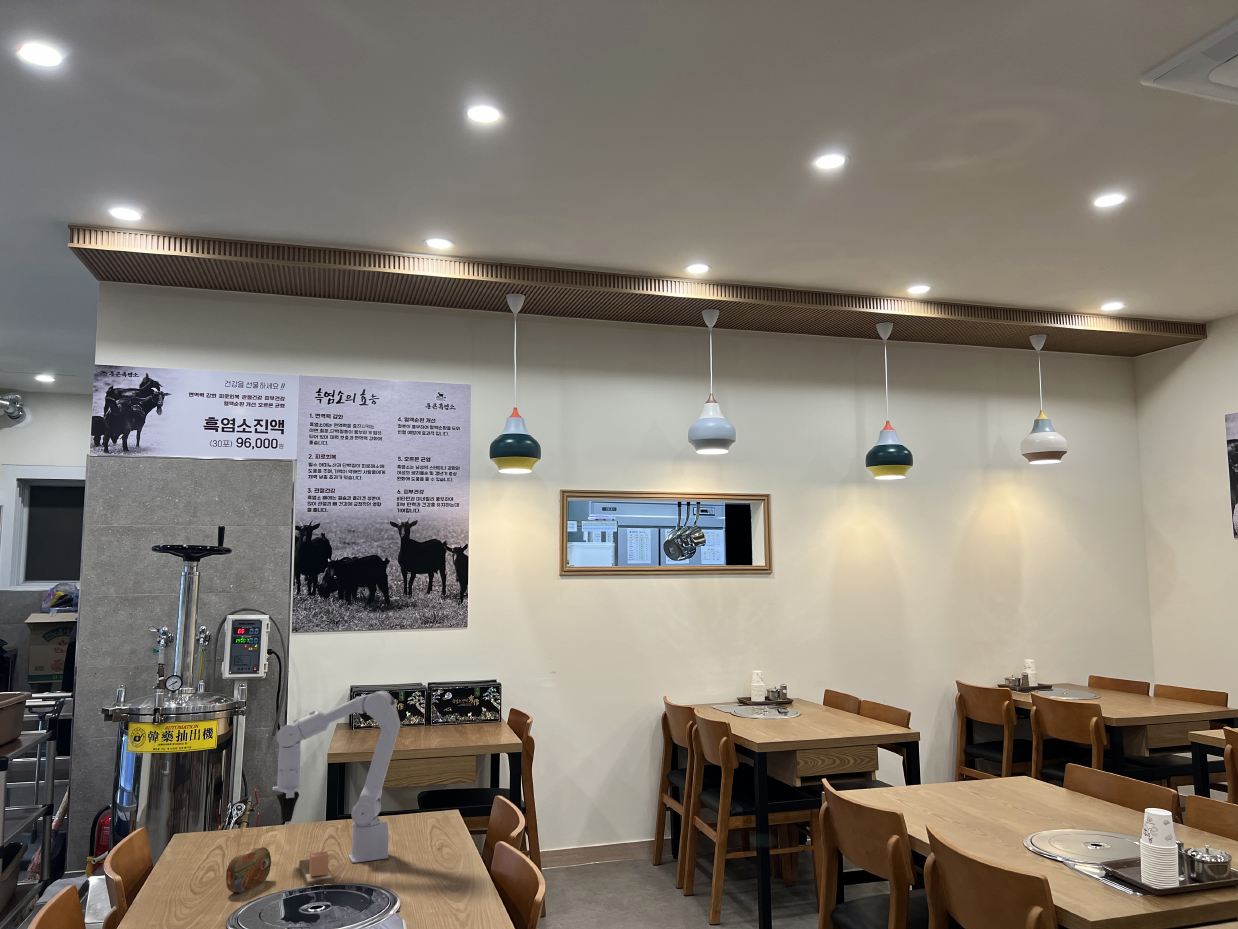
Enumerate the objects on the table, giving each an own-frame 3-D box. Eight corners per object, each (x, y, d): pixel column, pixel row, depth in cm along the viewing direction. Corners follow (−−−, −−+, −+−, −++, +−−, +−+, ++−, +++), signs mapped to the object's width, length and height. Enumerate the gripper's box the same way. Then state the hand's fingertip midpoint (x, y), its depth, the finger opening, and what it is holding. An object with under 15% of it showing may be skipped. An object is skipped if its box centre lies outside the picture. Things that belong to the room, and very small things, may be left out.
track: (322, 863, 230) (322, 857, 230) (333, 885, 211) (333, 878, 211) (299, 866, 228) (299, 860, 228) (307, 888, 208) (307, 882, 208)
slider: (325, 870, 217) (326, 851, 217) (327, 874, 213) (328, 855, 214) (309, 872, 215) (309, 853, 216) (310, 876, 211) (311, 857, 212)
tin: (234, 897, 203) (235, 860, 204) (222, 897, 204) (224, 859, 205) (271, 878, 217) (273, 843, 219) (260, 878, 218) (262, 843, 220)
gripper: (271, 767, 241) (269, 817, 239) (275, 774, 228) (272, 828, 226) (298, 764, 244) (296, 814, 242) (303, 772, 231) (301, 825, 229)
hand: (286, 821), depth 234 cm, fingers closed
